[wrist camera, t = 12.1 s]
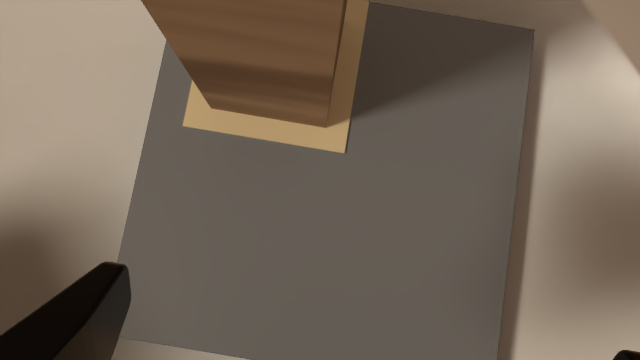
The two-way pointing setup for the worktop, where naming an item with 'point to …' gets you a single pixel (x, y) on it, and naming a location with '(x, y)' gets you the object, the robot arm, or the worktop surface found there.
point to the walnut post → (258, 53)
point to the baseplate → (338, 203)
